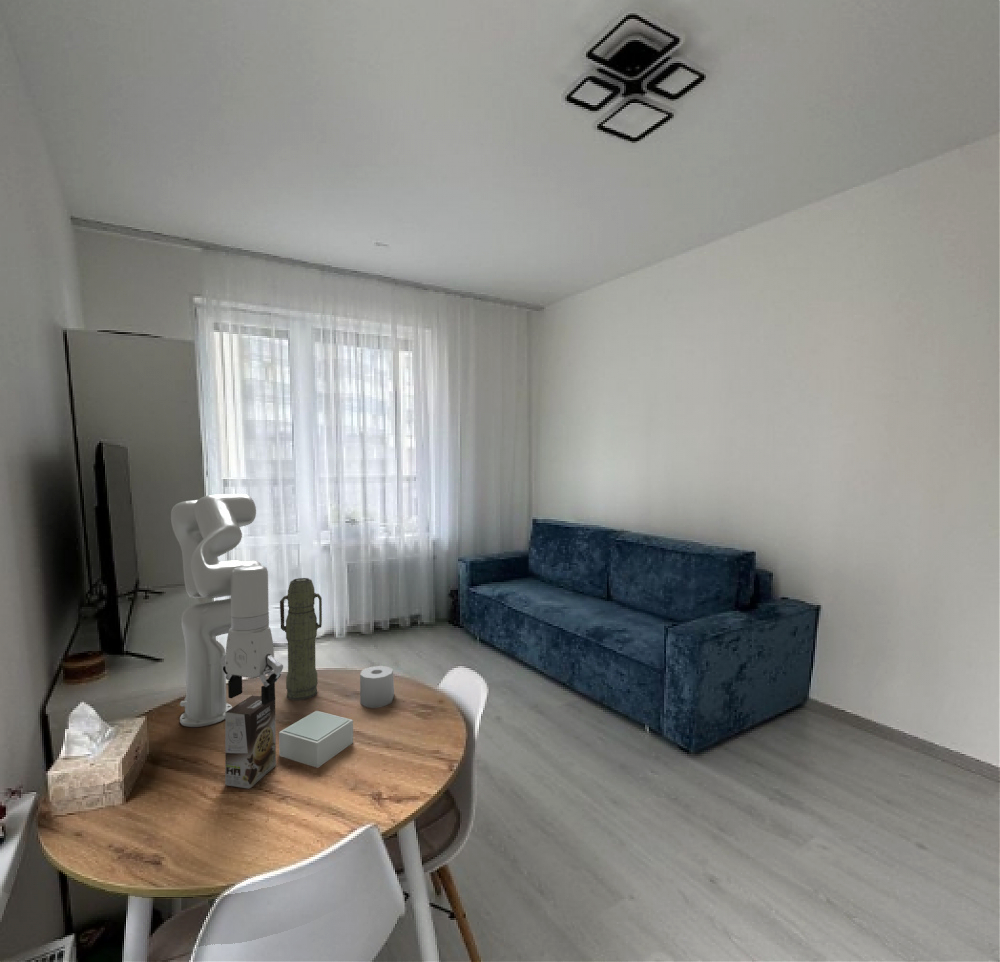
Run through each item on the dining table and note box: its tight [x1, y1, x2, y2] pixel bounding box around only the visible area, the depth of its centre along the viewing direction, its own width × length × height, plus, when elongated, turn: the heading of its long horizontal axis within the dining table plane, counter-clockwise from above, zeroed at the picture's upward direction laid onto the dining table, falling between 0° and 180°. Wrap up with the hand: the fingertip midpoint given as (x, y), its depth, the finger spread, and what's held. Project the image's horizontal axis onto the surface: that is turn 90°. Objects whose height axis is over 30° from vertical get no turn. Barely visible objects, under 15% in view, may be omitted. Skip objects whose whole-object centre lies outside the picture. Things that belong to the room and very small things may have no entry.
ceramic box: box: [278, 710, 354, 768], centre depth 125 cm, size 12×12×6 cm
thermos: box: [279, 577, 323, 701], centre depth 156 cm, size 9×12×35 cm
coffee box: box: [224, 694, 277, 790], centre depth 114 cm, size 9×6×16 cm
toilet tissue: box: [359, 665, 395, 709], centre depth 153 cm, size 9×13×9 cm
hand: (251, 699), depth 113 cm, fingers open, 9 cm apart
